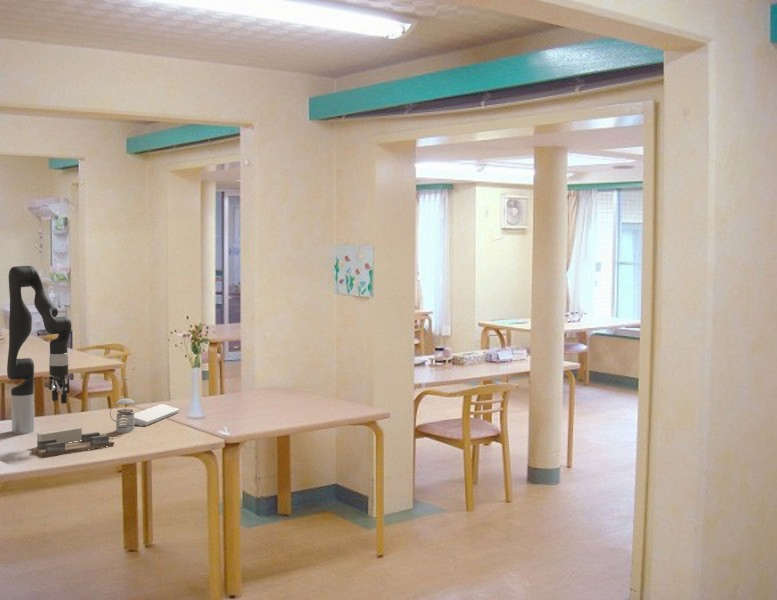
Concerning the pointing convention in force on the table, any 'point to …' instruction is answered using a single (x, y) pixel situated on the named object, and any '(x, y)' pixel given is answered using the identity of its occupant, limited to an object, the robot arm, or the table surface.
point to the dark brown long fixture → (71, 445)
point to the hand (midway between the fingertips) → (59, 401)
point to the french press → (124, 412)
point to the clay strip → (62, 435)
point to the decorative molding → (153, 414)
